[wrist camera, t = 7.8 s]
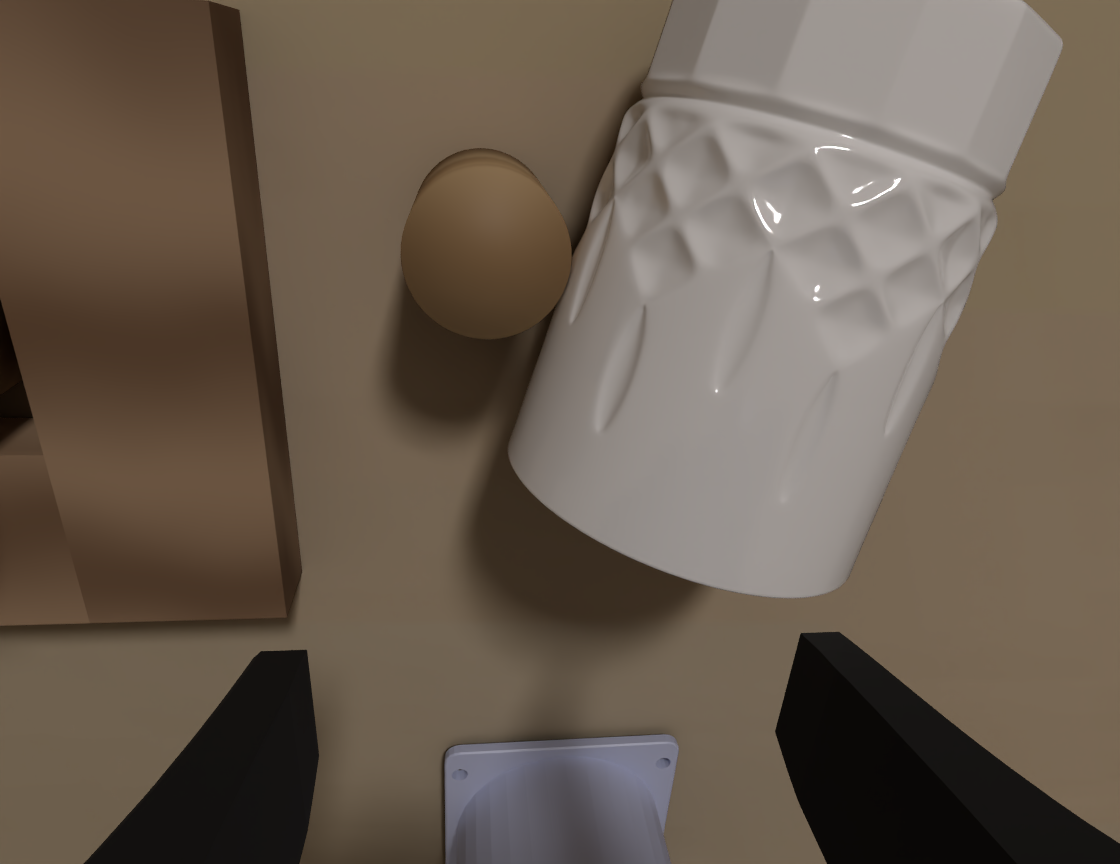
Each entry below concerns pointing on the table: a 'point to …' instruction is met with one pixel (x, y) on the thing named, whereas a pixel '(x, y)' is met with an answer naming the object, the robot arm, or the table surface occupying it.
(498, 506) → the table surface
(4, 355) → the long dowel
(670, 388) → the white cup
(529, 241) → the short dowel
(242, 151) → the wooden board with hole
